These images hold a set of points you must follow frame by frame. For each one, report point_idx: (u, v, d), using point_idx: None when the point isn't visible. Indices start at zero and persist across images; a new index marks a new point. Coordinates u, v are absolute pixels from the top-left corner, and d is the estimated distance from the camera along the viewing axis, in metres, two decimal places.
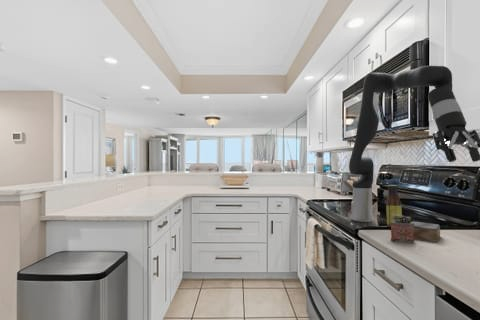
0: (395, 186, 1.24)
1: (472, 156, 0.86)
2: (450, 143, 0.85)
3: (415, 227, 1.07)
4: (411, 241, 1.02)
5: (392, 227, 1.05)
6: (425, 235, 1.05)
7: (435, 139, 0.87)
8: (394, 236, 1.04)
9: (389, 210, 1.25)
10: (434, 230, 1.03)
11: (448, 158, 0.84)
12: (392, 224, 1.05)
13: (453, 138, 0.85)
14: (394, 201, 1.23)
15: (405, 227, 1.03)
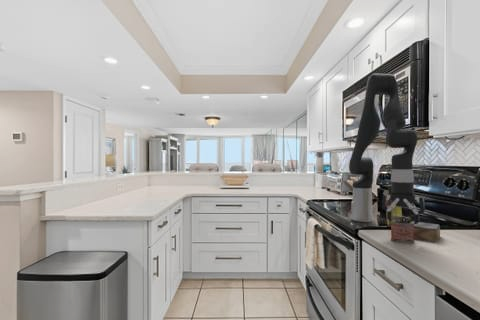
0: None
1: None
2: (390, 207, 1.06)
3: (415, 227, 1.07)
4: (411, 241, 1.02)
5: (392, 227, 1.05)
6: (425, 235, 1.05)
7: None
8: (394, 236, 1.04)
9: None
10: (434, 230, 1.03)
11: None
12: (392, 224, 1.05)
13: (393, 204, 1.05)
14: None
15: (405, 227, 1.03)
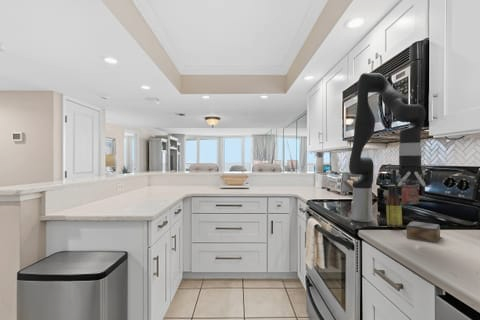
0: (395, 186, 1.24)
1: (419, 191, 1.07)
2: (400, 181, 1.06)
3: (415, 227, 1.07)
4: (418, 202, 1.06)
5: (404, 190, 1.05)
6: (425, 235, 1.05)
7: (391, 175, 1.08)
8: (406, 199, 1.05)
9: (389, 210, 1.25)
10: (434, 230, 1.03)
11: (396, 192, 1.08)
12: (405, 187, 1.05)
13: (404, 178, 1.05)
14: (394, 201, 1.23)
15: (414, 189, 1.06)
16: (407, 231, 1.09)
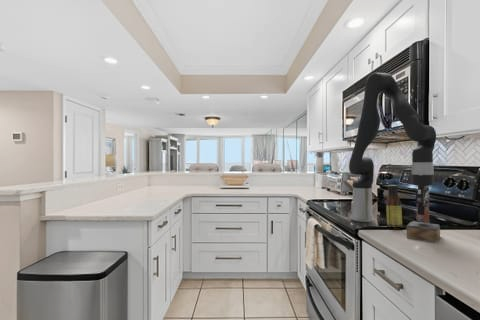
0: (395, 186, 1.24)
1: None
2: (424, 201, 1.06)
3: (415, 227, 1.07)
4: None
5: (428, 209, 1.06)
6: (425, 235, 1.05)
7: (417, 195, 1.05)
8: (428, 217, 1.07)
9: (389, 210, 1.25)
10: (434, 230, 1.03)
11: (419, 212, 1.06)
12: (428, 206, 1.06)
13: (426, 196, 1.06)
14: (394, 201, 1.23)
15: None
16: (407, 231, 1.09)
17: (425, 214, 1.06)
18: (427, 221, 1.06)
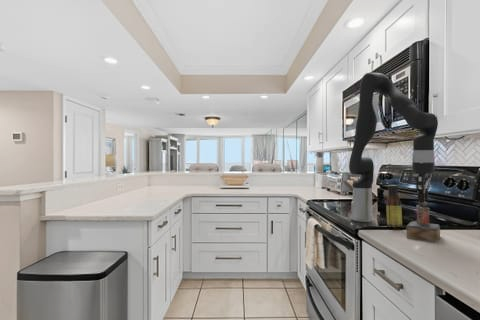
0: (395, 186, 1.24)
1: None
2: (424, 188, 1.06)
3: (415, 227, 1.07)
4: None
5: (428, 213, 1.06)
6: (425, 235, 1.05)
7: (417, 183, 1.05)
8: (428, 221, 1.07)
9: (389, 210, 1.25)
10: (434, 230, 1.03)
11: (420, 199, 1.06)
12: (428, 210, 1.06)
13: (426, 184, 1.06)
14: (394, 201, 1.23)
15: None
16: (407, 231, 1.09)
17: (425, 218, 1.06)
18: (427, 225, 1.06)
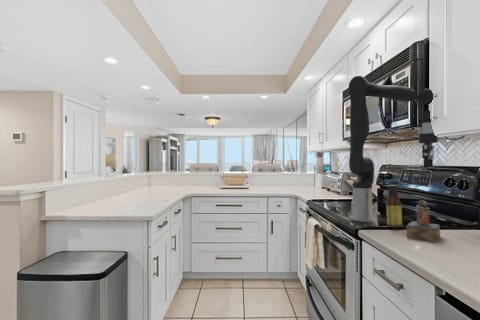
0: (395, 186, 1.24)
1: None
2: (429, 155, 1.22)
3: (415, 227, 1.07)
4: None
5: (428, 213, 1.06)
6: (425, 235, 1.05)
7: (423, 150, 1.21)
8: (428, 221, 1.07)
9: (389, 210, 1.25)
10: (434, 230, 1.03)
11: (425, 165, 1.22)
12: (428, 210, 1.06)
13: (431, 152, 1.22)
14: (394, 201, 1.23)
15: None
16: (407, 231, 1.09)
17: (425, 218, 1.06)
18: (427, 225, 1.06)
